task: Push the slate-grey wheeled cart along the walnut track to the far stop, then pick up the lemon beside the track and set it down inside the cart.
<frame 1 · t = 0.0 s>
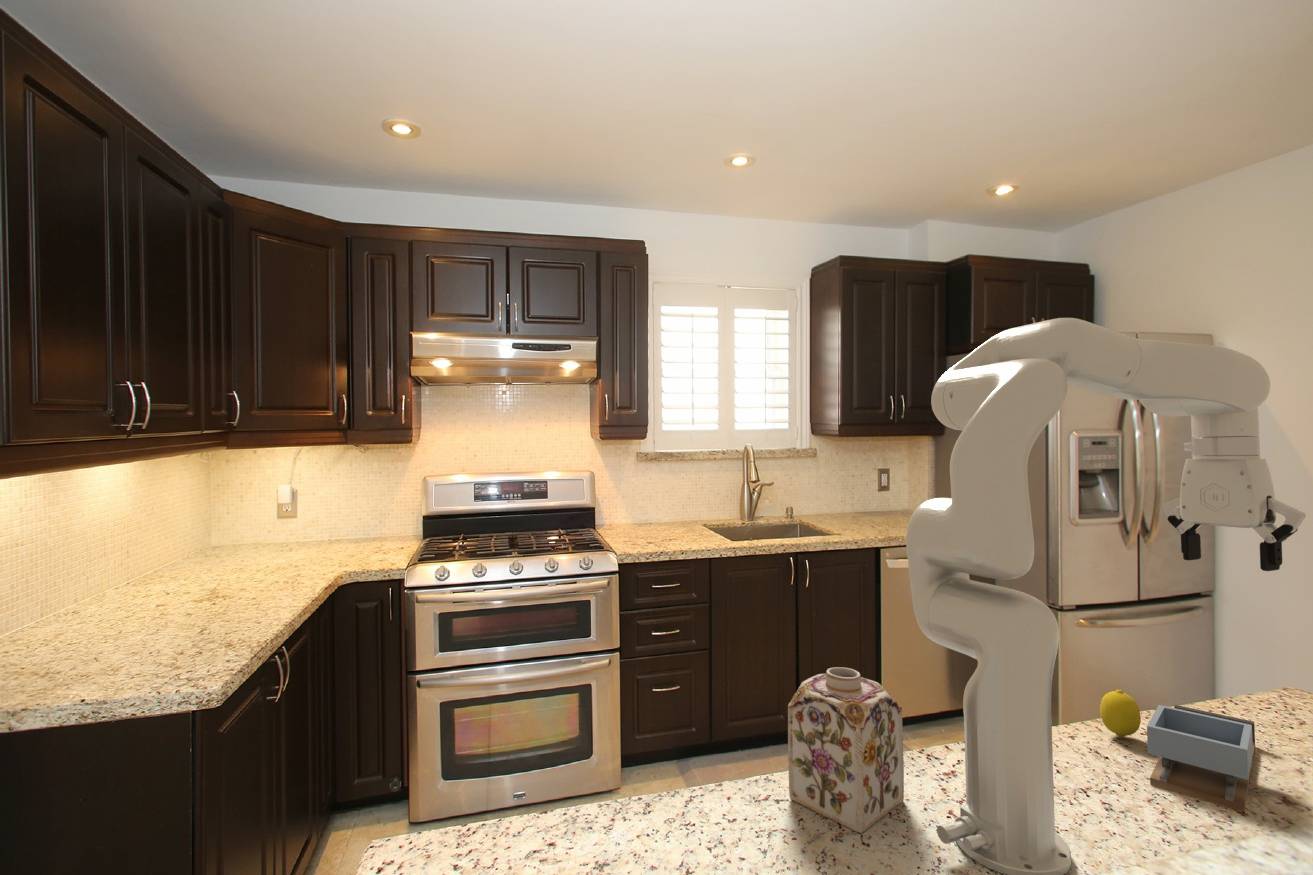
hand: (1229, 564, 94), 31 cm above the counter, tool pointing down, fingers open, 9 cm apart
decorative jar: (846, 802, 88), on the counter
track: (1205, 764, 97), on the counter
cart: (1200, 745, 93), point 5 cm above the counter, slide at 0.0 cm
lemon: (1120, 738, 106), on the counter
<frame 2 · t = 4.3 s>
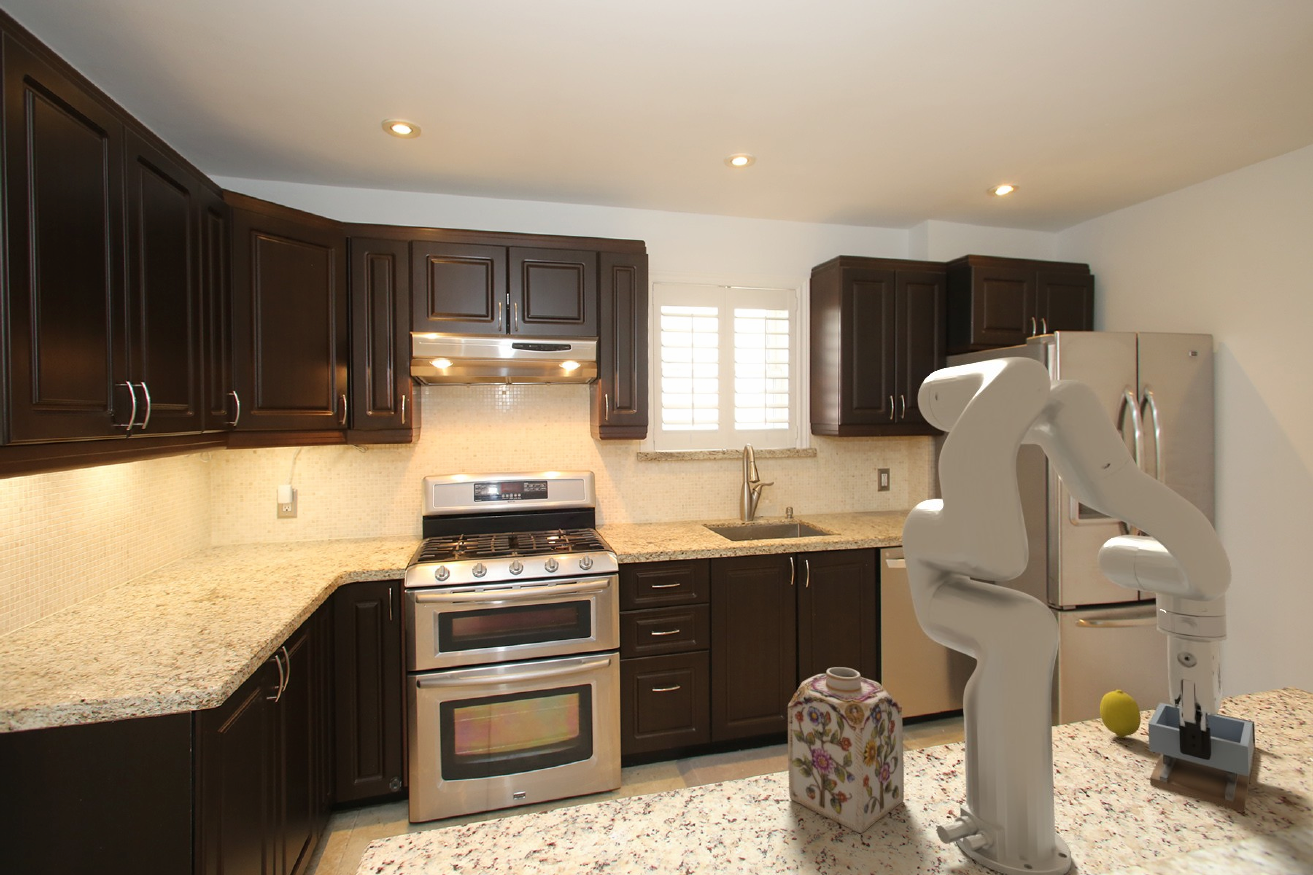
hand: (1195, 754, 89), 6 cm above the counter, tool pointing down, fingers closed
cart: (1201, 743, 94), point 5 cm above the counter, slide at 1.2 cm, touching gripper
everything else where it was.
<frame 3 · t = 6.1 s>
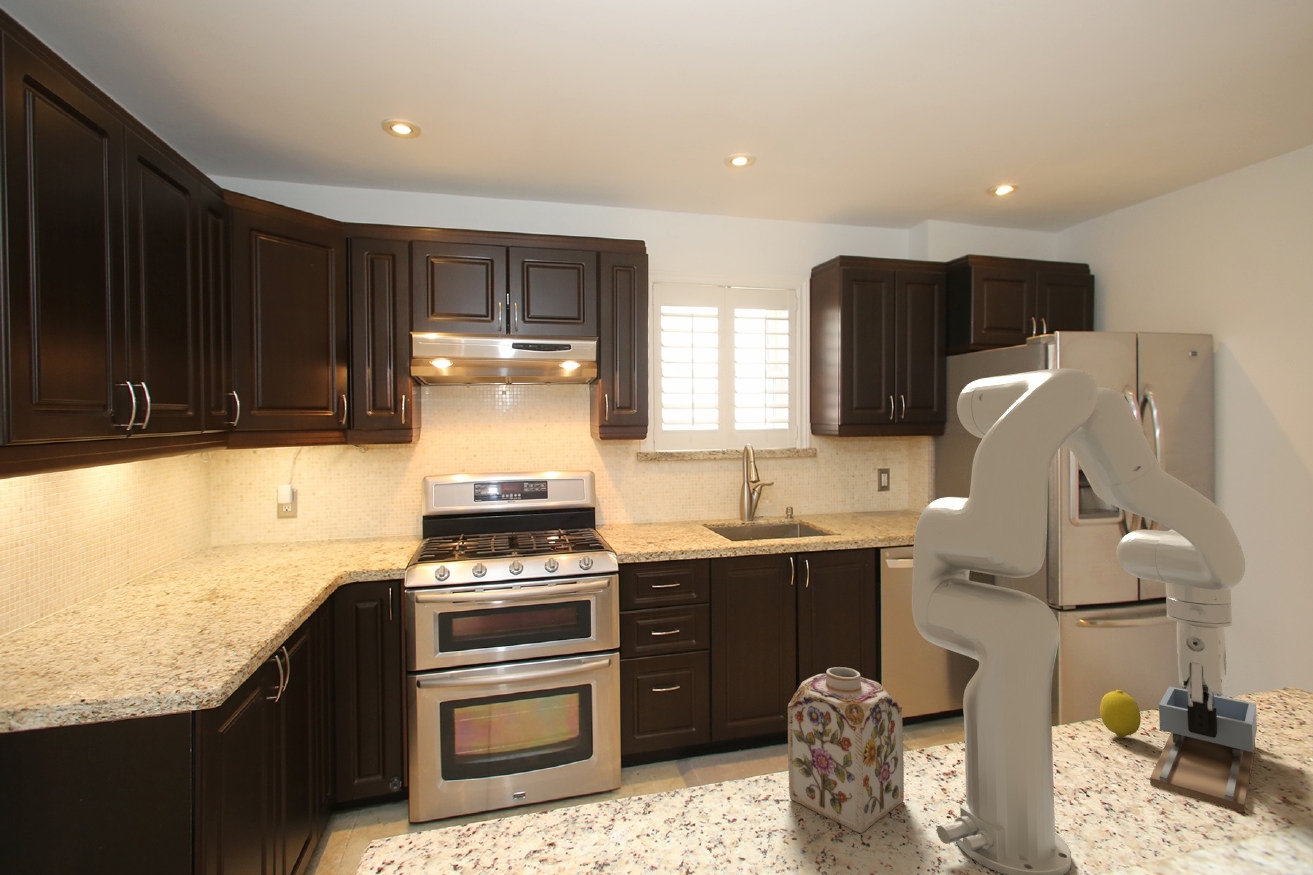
hand: (1202, 732, 95), 6 cm above the counter, tool pointing down, fingers closed
cart: (1208, 722, 100), point 5 cm above the counter, slide at 10.9 cm
everything else where it was.
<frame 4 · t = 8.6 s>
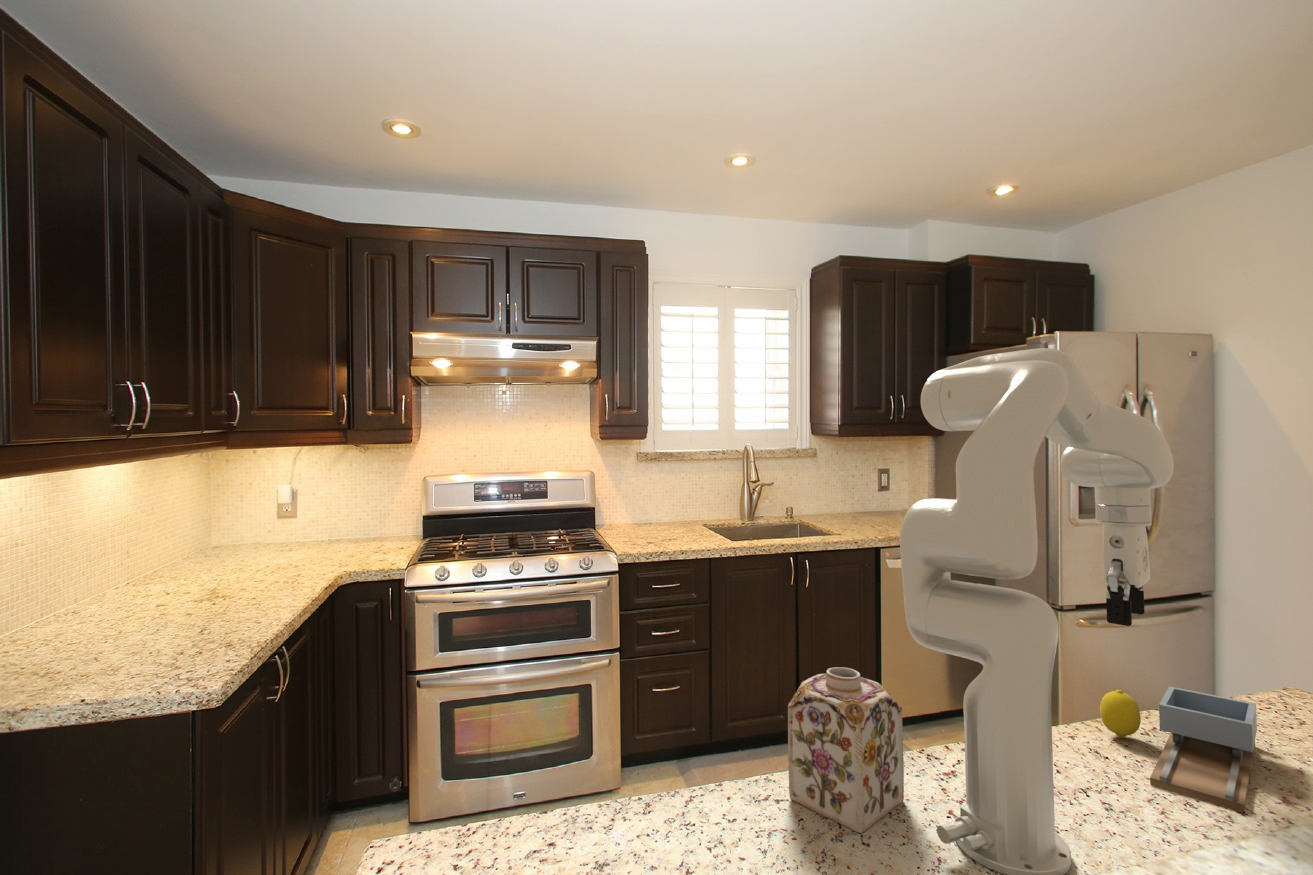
hand: (1126, 618, 105), 20 cm above the counter, tool pointing down, fingers open, 9 cm apart
nothing on the counter moved.
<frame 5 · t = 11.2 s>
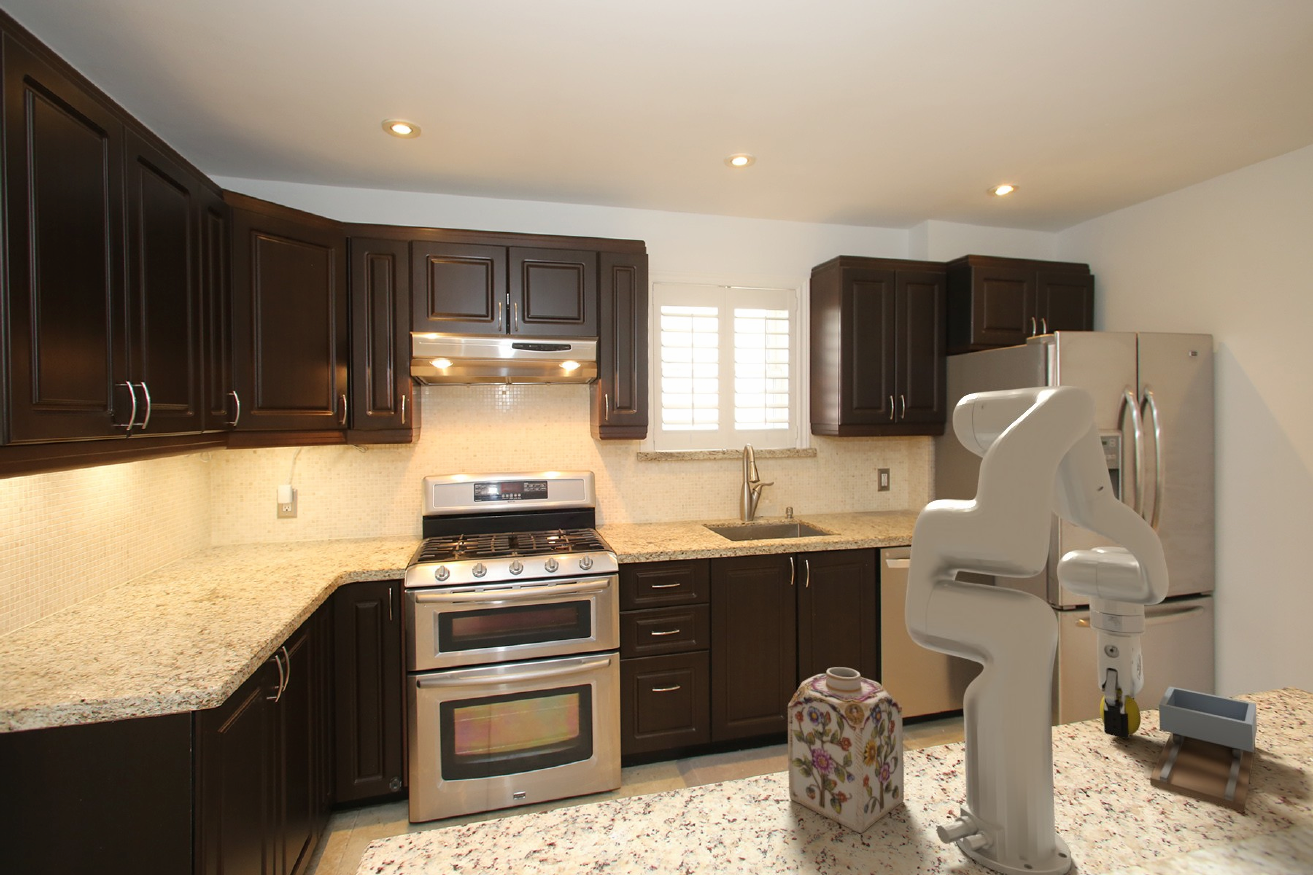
hand: (1120, 728, 106), 2 cm above the counter, tool pointing down, fingers closed on lemon, 5 cm apart
lemon: (1120, 738, 106), on the counter, touching gripper
everything else where it was.
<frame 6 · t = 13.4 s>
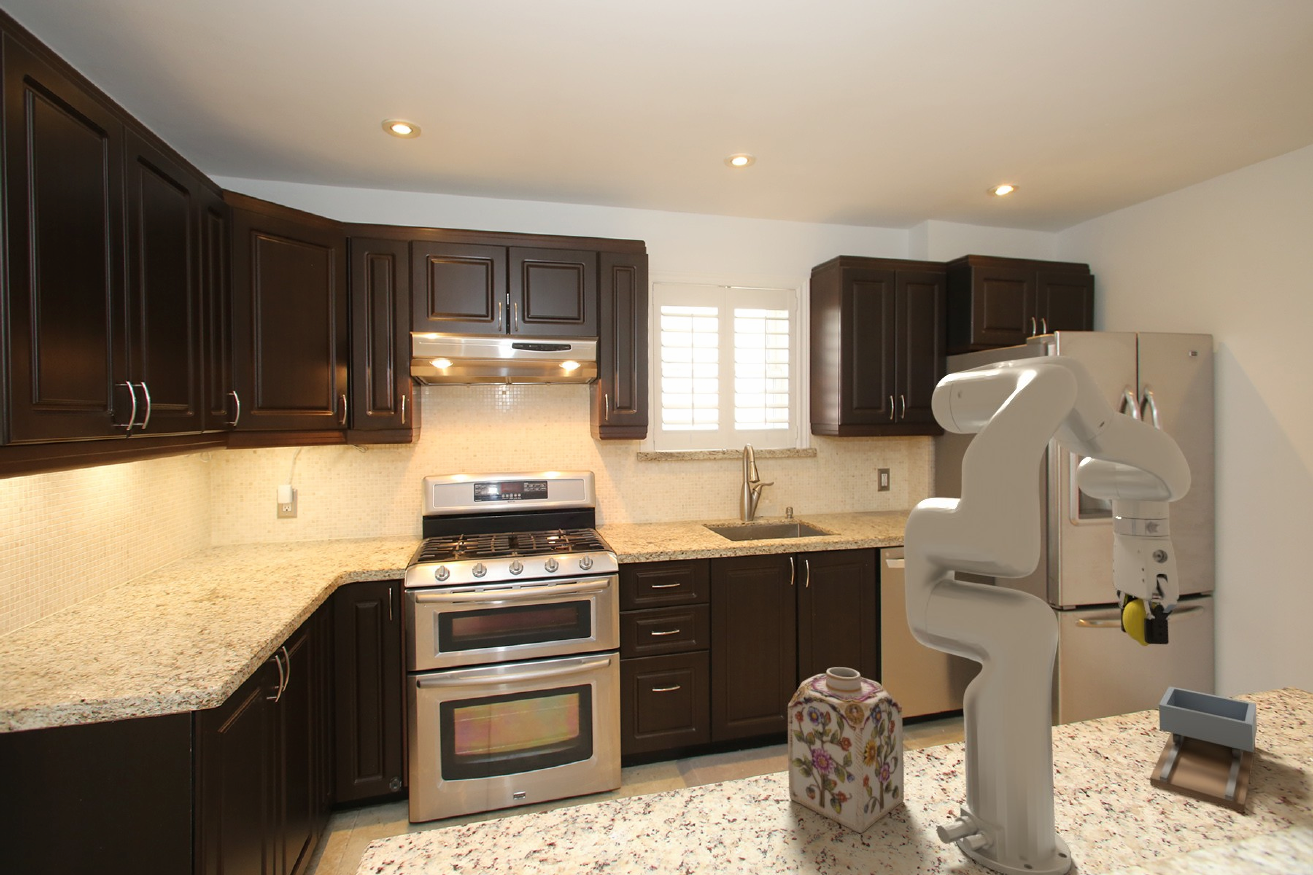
hand: (1144, 636, 105), 17 cm above the counter, tool pointing down, fingers closed on lemon, 5 cm apart
lemon: (1144, 647, 105), point 16 cm above the counter, touching gripper
everything else where it was.
when the fingers open (8 cm above the counter, at t = 16.1 s): lemon drops 2 cm, resting on cart.
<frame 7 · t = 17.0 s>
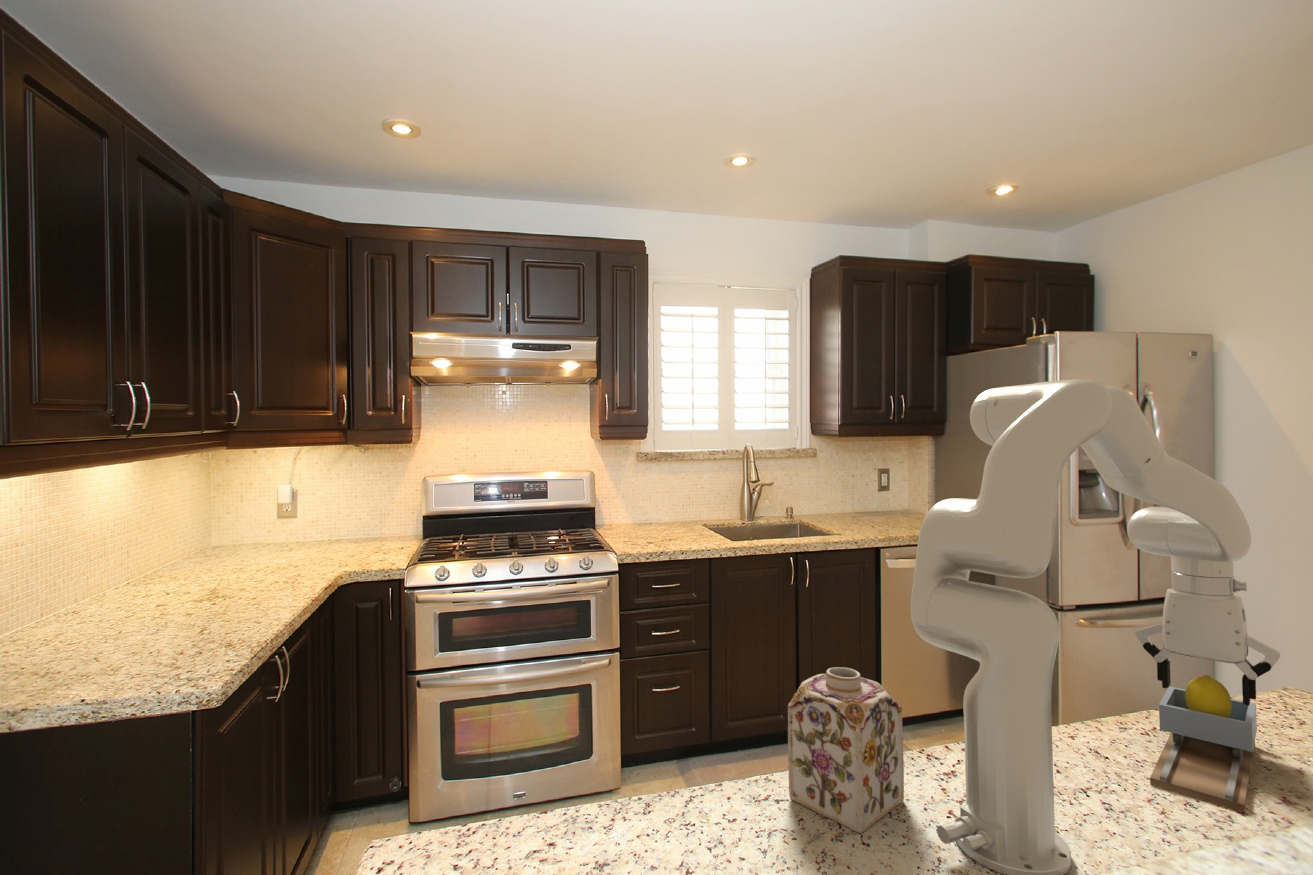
hand: (1205, 694, 100), 10 cm above the counter, tool pointing down, fingers open, 9 cm apart
cart: (1208, 722, 100), point 5 cm above the counter, slide at 10.9 cm, touching lemon
lemon: (1209, 727, 100), point 4 cm above the counter, touching cart
everything else where it was.
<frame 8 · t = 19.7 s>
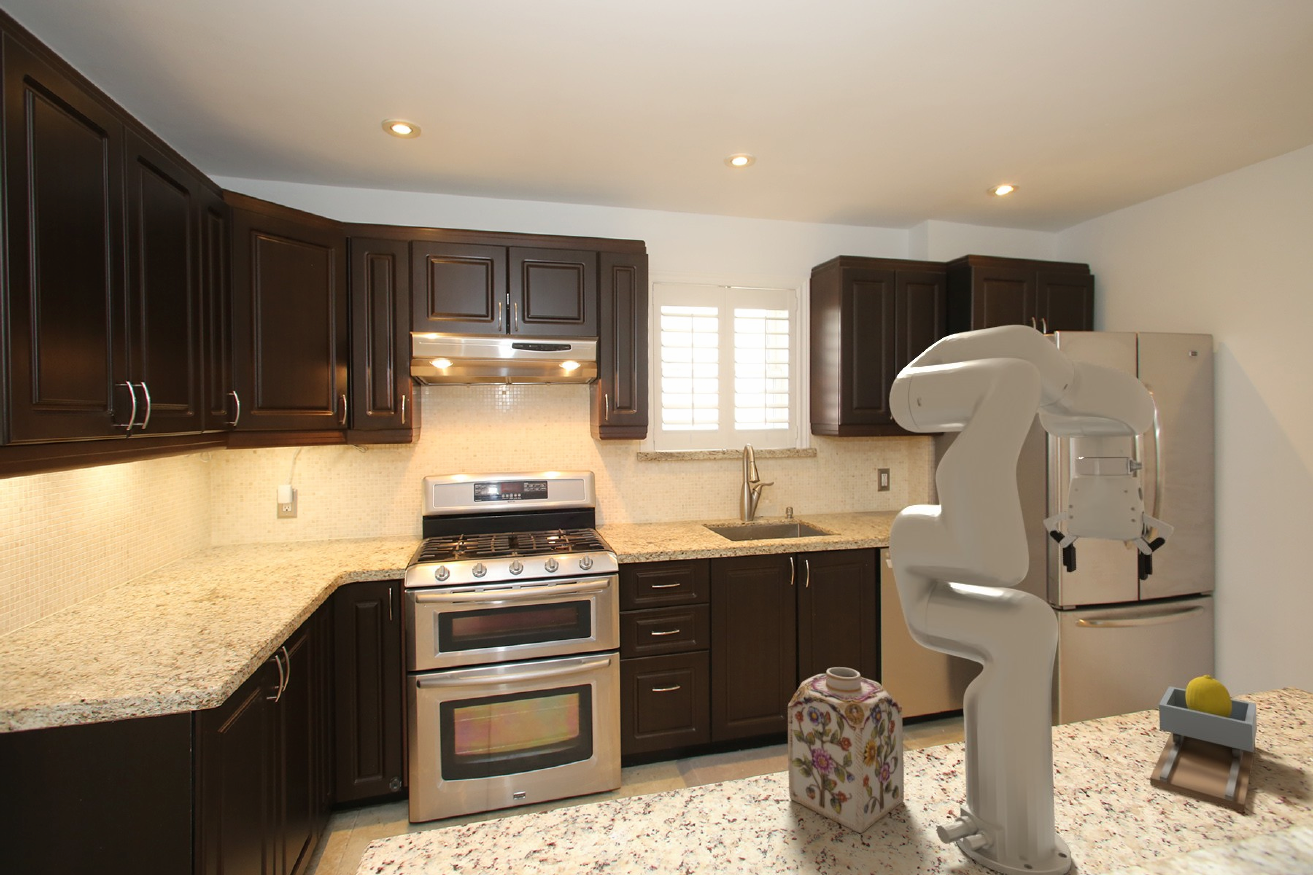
hand: (1106, 574, 102), 28 cm above the counter, tool pointing down, fingers open, 9 cm apart
nothing on the counter moved.
at the end: cart slide at 10.9 cm; lemon 0.9 cm off-centre on the cart, point 2.8 cm above the cart's base; the gripper is holding nothing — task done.
